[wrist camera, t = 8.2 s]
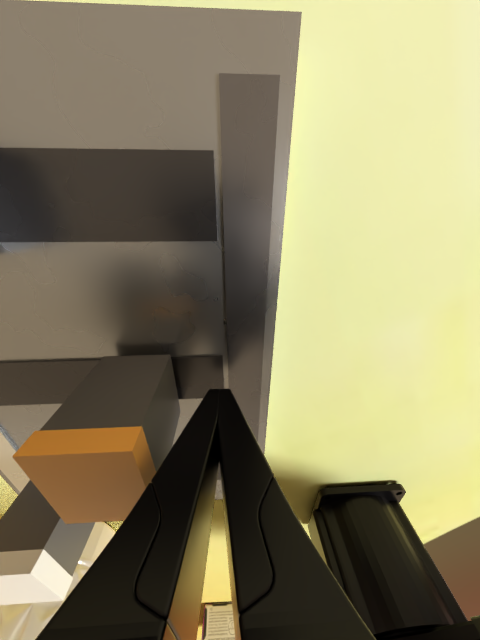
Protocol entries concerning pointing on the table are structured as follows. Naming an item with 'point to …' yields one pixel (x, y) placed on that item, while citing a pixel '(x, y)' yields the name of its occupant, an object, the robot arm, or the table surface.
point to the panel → (140, 201)
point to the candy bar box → (218, 622)
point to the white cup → (30, 618)
